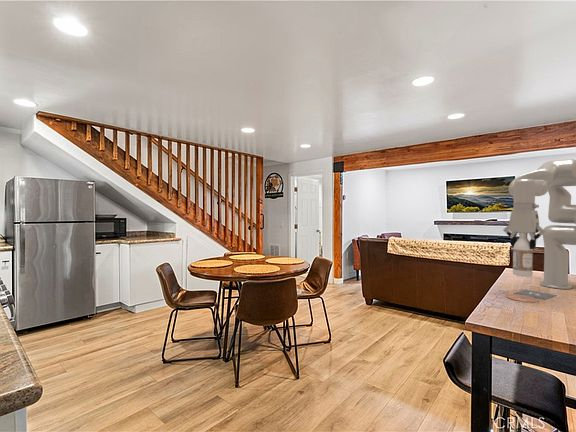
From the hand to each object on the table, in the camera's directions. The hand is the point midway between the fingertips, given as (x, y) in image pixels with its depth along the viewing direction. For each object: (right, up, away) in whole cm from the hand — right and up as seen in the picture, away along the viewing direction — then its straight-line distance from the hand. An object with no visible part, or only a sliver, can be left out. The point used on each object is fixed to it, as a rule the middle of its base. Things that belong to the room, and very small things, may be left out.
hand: (523, 247), depth 137 cm
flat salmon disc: (0, -23, +1) cm, 23 cm away
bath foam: (0, -12, 0) cm, 13 cm away
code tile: (+11, -23, +8) cm, 27 cm away
